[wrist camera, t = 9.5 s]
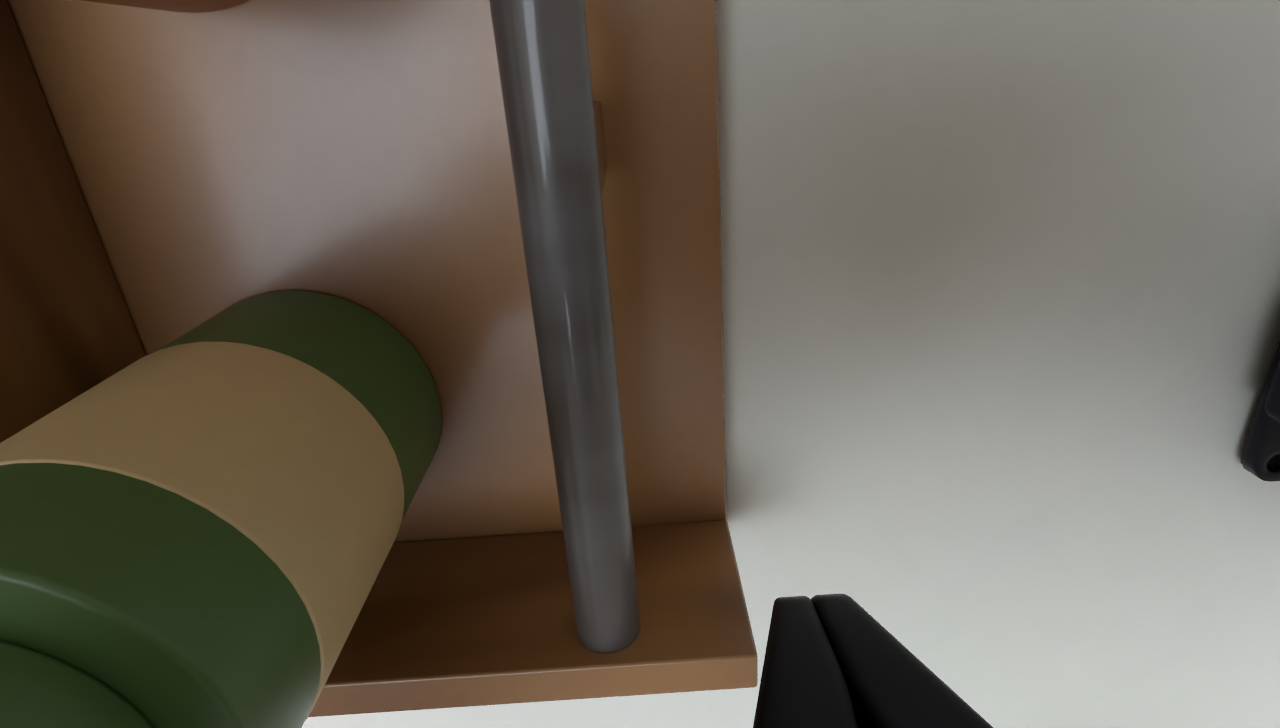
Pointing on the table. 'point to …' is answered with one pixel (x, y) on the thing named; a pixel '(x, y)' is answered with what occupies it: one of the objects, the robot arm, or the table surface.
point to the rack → (421, 295)
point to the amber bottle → (176, 4)
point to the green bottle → (209, 520)
